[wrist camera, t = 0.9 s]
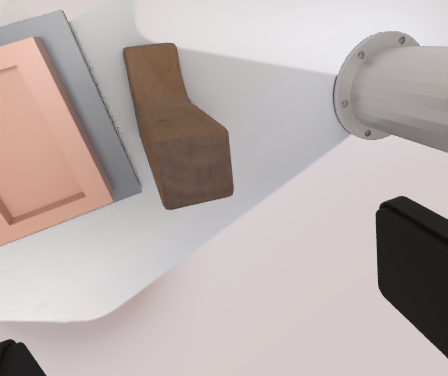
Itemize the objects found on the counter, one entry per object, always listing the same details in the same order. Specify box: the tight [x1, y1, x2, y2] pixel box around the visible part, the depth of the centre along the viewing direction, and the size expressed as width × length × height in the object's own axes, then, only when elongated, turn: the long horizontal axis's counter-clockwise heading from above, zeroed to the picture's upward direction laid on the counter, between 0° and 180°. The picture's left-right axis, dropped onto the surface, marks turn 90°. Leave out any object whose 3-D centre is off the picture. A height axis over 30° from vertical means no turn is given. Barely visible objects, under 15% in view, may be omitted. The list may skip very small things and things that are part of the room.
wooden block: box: [123, 43, 234, 210], centre depth 27 cm, size 9×4×18 cm, turn 7°
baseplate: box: [0, 10, 141, 246], centre depth 31 cm, size 16×18×5 cm
